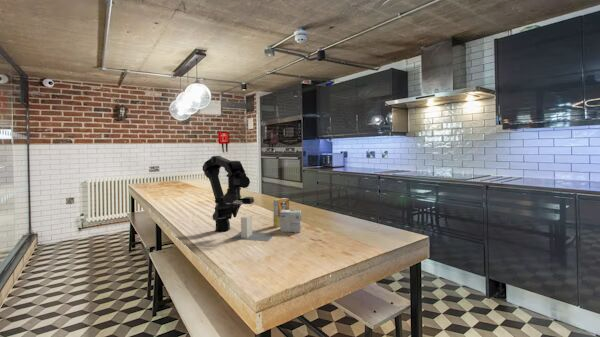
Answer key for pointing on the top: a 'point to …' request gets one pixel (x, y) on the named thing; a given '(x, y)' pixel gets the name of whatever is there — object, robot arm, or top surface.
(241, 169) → the robot arm
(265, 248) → the top surface
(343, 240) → the top surface
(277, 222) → the candy box
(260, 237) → the rubber mat
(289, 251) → the top surface
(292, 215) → the light bulb box
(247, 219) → the ivory tile
